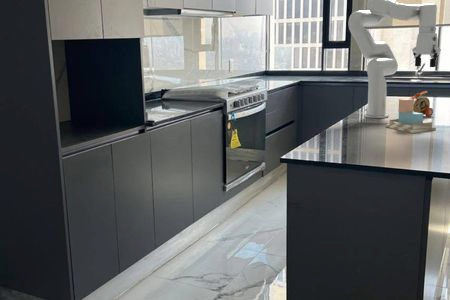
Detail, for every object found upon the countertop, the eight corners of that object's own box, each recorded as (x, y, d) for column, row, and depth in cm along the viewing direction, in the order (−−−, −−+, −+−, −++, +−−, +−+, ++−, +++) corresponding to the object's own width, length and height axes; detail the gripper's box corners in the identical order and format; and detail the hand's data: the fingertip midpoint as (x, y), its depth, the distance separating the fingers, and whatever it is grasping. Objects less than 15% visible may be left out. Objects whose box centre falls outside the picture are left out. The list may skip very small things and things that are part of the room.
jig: (385, 127, 243) (386, 119, 242) (408, 124, 248) (408, 116, 247) (412, 133, 227) (412, 125, 226) (435, 129, 232) (436, 122, 231)
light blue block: (398, 124, 242) (398, 111, 241) (404, 123, 244) (405, 110, 242) (416, 128, 231) (416, 114, 230) (422, 127, 233) (423, 113, 231)
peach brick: (398, 111, 240) (398, 99, 239) (406, 110, 242) (407, 98, 241) (405, 112, 236) (405, 100, 235) (413, 111, 238) (413, 99, 237)
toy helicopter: (434, 116, 268) (436, 90, 265) (407, 120, 258) (409, 94, 255) (421, 114, 275) (423, 89, 272) (395, 118, 265) (396, 93, 262)
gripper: (447, 29, 231) (444, 66, 235) (420, 30, 247) (418, 65, 250) (434, 30, 228) (432, 67, 232) (408, 31, 244) (406, 66, 248)
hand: (425, 66), depth 241 cm, fingers open, 9 cm apart
